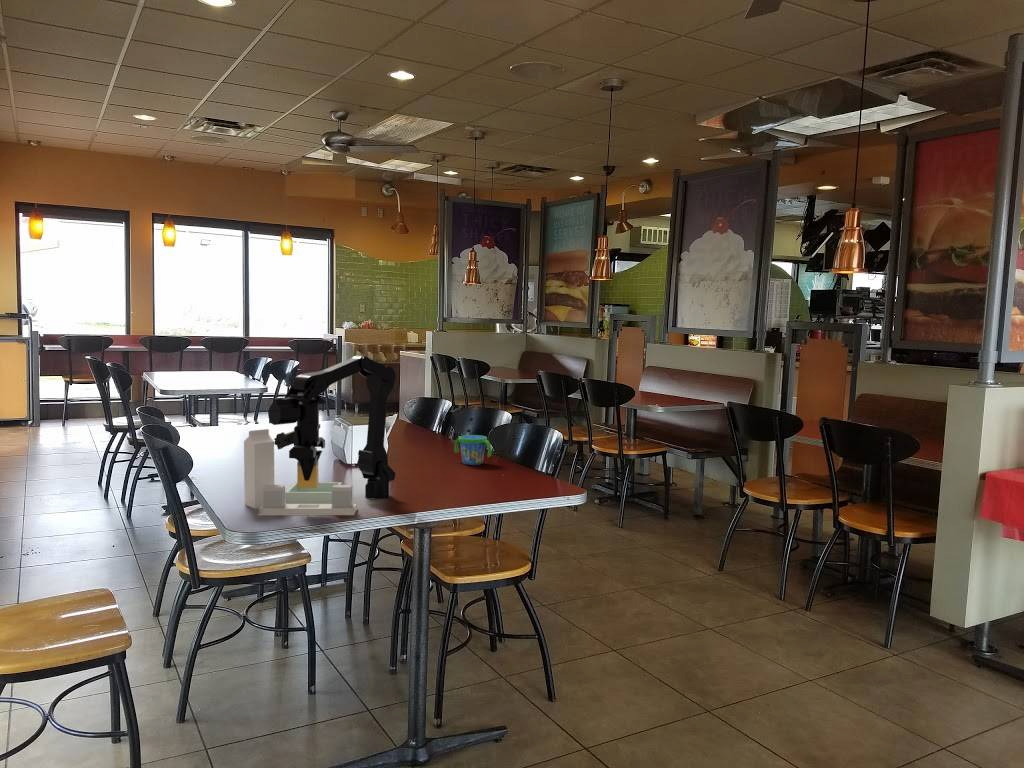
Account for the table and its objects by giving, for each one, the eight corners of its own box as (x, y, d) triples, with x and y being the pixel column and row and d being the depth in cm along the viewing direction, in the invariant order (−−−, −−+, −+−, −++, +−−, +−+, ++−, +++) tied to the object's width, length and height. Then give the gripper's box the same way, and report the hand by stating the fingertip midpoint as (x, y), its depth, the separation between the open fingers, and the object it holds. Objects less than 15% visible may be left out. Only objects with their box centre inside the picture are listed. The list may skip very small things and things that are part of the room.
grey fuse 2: (352, 510, 206) (352, 484, 206) (350, 513, 203) (350, 487, 203) (333, 510, 206) (333, 484, 206) (331, 513, 203) (331, 487, 203)
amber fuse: (318, 485, 205) (318, 459, 205) (316, 487, 202) (316, 462, 202) (299, 485, 205) (299, 459, 204) (297, 487, 202) (297, 461, 201)
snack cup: (497, 464, 282) (498, 437, 281) (479, 468, 274) (480, 440, 273) (466, 459, 292) (466, 433, 291) (447, 463, 283) (447, 436, 282)
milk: (274, 508, 211) (274, 430, 209) (254, 512, 207) (254, 432, 205) (264, 504, 215) (263, 427, 214) (243, 507, 211) (243, 429, 209)
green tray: (341, 497, 226) (341, 482, 225) (334, 508, 212) (334, 492, 212) (295, 497, 225) (295, 482, 224) (285, 508, 211) (285, 492, 211)
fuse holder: (357, 512, 209) (357, 503, 208) (353, 518, 202) (353, 509, 201) (264, 512, 207) (263, 503, 206) (257, 518, 200) (257, 509, 200)
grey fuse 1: (285, 510, 205) (284, 484, 205) (282, 513, 202) (282, 487, 202) (266, 510, 205) (266, 484, 204) (263, 513, 202) (263, 487, 201)
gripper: (284, 417, 211) (285, 472, 212) (268, 426, 192) (268, 486, 193) (325, 417, 212) (325, 472, 213) (313, 426, 193) (313, 486, 194)
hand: (308, 479), depth 203 cm, fingers closed on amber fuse, 3 cm apart
